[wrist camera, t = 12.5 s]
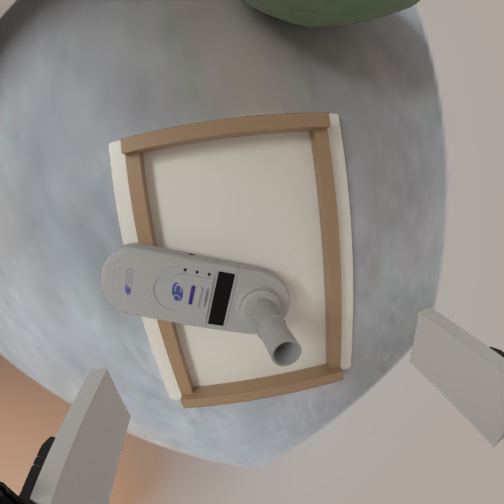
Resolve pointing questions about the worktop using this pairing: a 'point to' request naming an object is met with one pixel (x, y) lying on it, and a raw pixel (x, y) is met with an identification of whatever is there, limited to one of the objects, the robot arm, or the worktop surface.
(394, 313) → the worktop surface
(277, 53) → the worktop surface
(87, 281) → the worktop surface
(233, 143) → the wooden framed canvas
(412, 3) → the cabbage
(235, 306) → the electronic device
